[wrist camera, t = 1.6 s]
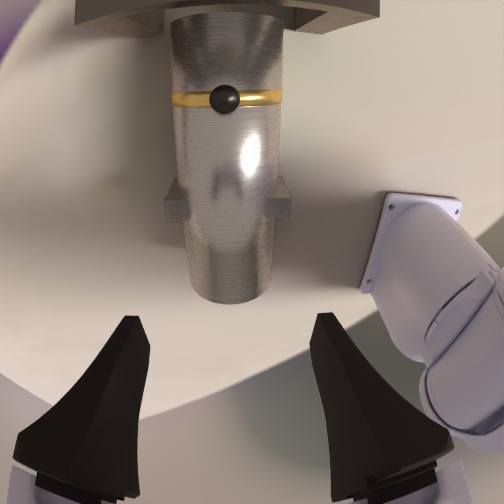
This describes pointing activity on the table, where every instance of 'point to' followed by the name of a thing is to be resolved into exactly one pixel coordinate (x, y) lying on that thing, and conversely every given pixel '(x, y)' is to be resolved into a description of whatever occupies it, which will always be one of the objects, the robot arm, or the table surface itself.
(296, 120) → the table surface
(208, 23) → the grey metal cylinder
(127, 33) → the brown bracket plates
